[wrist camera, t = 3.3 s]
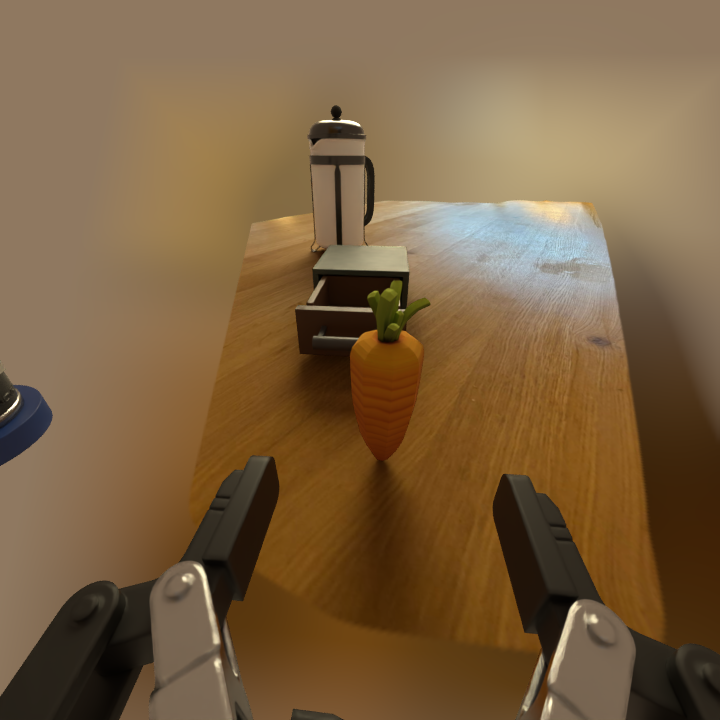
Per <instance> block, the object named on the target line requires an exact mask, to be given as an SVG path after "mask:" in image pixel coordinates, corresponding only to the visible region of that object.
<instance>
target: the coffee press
mask: <svg viewBox="0 0 720 720" xmlns="http://www.w3.org/2000/svg"><path fill="white" fill-rule="evenodd" d="M341 113H342V111H341V108H340V107H339V106H337V105H336V106H333V107H332V109H331V114H332V116H333V117H334V118H333V119H332V120H324V121H319V122H316V123H315V124H313V125H312V127H311V128H310V133H309V135H308V139H309V142H310V153H311V155H310V168H311V169H312V170H311V169H310V170H311V186H312V185H313V186H312V201H314V202H313V217H314V216H315V218H314V233H315V231H316V234H315V239H316V242H317V244H318V245H319V247H318V248H320V247H322V248H325V249H327V248H328V247H329V245H354V246H360V245H361V244H362V243H363V230H364V226H366V225H367V224H368V223H369V222H370V221H371V218H372V216H373V211H374V168H373V164H372V162H371V160H370V159H369V158H368V157H366V156H364V143H365V140H366V135H364V131H363V128H362V127H361V126H360V125H359V124H358V123H356V122H353V121H346V120H341V119H340V118H339V117H340V116H341ZM365 168H366V171H367V211H366V215H365ZM364 241H365V238H364ZM314 242H315V241H314ZM365 243H366V242H365ZM313 244H314V243H313ZM313 244H312V246H313ZM366 245H367V243H366ZM312 246H311V251H313V252H315V251H317V249H318V248H317V249H316V250H313V249H312ZM367 246H368V245H367Z"/></svg>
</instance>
